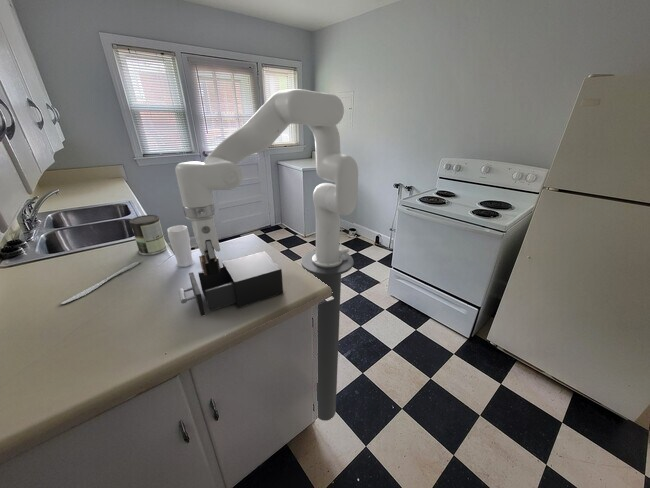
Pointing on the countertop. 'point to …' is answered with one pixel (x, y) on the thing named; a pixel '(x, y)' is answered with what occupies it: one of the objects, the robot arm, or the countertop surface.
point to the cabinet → (254, 278)
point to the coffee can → (148, 234)
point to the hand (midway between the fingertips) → (211, 269)
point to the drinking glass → (180, 244)
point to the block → (202, 261)
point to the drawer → (211, 290)
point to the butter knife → (99, 283)
